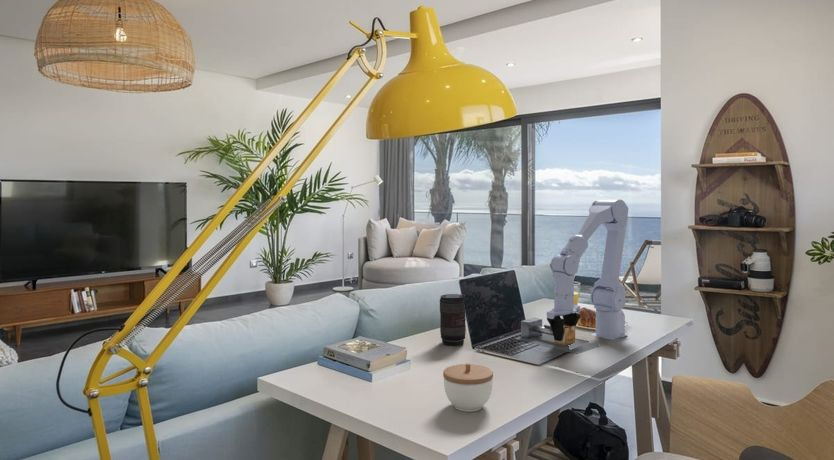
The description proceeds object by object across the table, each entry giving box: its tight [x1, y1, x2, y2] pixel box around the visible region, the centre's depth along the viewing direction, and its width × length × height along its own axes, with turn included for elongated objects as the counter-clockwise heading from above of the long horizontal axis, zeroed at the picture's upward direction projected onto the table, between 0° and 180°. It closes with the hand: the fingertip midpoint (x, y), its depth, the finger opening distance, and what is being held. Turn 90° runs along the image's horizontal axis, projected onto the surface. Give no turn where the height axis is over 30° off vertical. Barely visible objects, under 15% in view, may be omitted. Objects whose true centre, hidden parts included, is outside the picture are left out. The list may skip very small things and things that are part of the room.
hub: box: [554, 324, 576, 346], centre depth 164 cm, size 5×4×5 cm
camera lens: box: [439, 293, 467, 347], centre depth 168 cm, size 8×8×15 cm
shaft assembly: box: [520, 317, 553, 339], centre depth 170 cm, size 7×10×5 cm, turn 40°
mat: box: [513, 333, 602, 355], centre depth 166 cm, size 13×23×1 cm, turn 40°
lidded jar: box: [442, 362, 494, 413], centre depth 117 cm, size 11×11×9 cm
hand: (563, 338), depth 164 cm, fingers closed on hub, 5 cm apart
